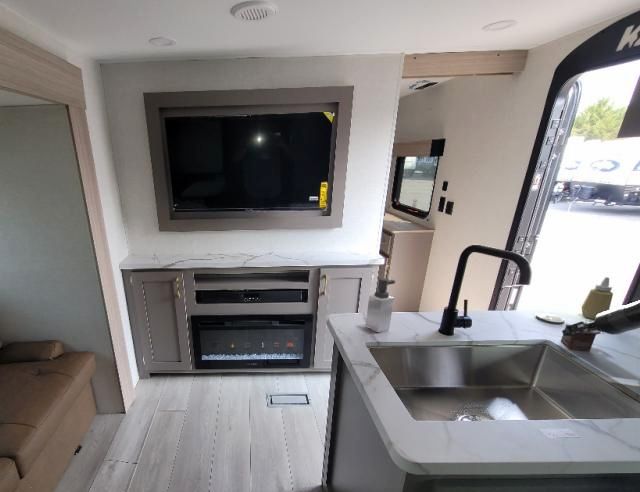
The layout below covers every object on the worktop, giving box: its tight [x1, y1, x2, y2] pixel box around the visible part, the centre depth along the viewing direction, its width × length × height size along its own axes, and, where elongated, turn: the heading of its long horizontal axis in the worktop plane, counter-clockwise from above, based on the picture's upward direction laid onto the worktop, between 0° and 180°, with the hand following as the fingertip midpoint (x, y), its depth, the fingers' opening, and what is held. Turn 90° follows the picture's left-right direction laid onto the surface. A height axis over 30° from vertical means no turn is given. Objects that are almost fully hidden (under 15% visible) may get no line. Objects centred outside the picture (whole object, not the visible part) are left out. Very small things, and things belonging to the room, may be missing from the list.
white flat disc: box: [535, 312, 566, 325], centre depth 138 cm, size 9×9×1 cm
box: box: [560, 323, 597, 352], centre depth 118 cm, size 6×6×7 cm
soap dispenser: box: [365, 277, 396, 333], centre depth 133 cm, size 6×9×22 cm
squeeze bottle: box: [581, 276, 614, 320], centre depth 136 cm, size 8×8×18 cm
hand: (576, 333), depth 118 cm, fingers open, 8 cm apart
